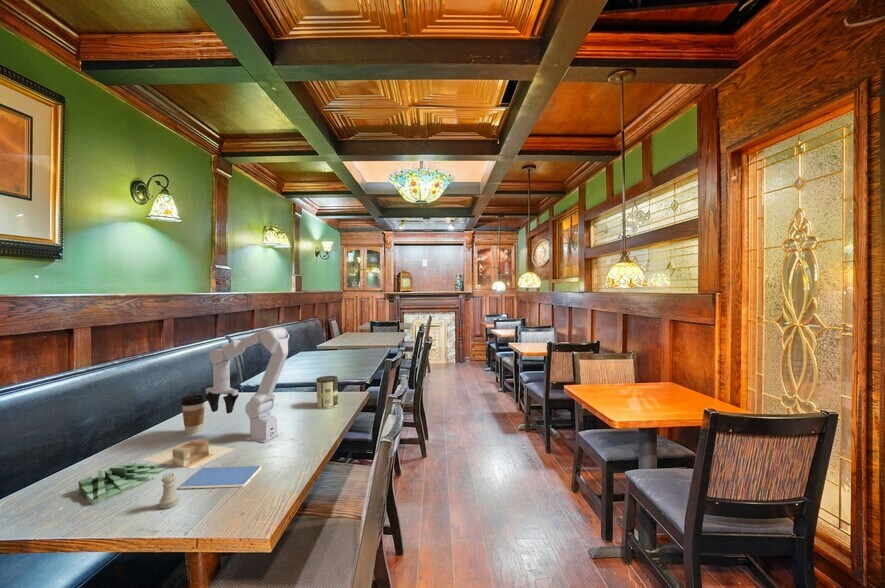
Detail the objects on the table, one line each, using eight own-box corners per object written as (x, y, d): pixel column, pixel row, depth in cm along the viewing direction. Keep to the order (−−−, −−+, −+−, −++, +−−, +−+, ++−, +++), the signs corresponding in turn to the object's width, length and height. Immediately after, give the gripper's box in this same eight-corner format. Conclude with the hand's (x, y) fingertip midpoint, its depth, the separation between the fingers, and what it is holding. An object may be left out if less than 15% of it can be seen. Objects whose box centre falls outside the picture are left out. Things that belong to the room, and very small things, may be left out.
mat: (235, 450, 136) (235, 448, 136) (194, 470, 121) (194, 468, 121) (185, 443, 144) (185, 441, 144) (141, 461, 128) (141, 459, 128)
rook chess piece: (165, 500, 103) (165, 471, 103) (182, 499, 104) (182, 470, 104) (154, 510, 99) (154, 479, 99) (172, 509, 99) (172, 478, 99)
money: (116, 472, 121) (116, 457, 121) (167, 471, 122) (167, 456, 122) (54, 508, 101) (54, 490, 101) (116, 506, 102) (115, 488, 102)
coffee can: (331, 401, 196) (330, 374, 196) (342, 405, 189) (341, 377, 189) (312, 406, 188) (312, 378, 188) (323, 410, 181) (322, 381, 181)
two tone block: (197, 453, 133) (197, 439, 133) (208, 455, 131) (208, 440, 131) (172, 464, 124) (172, 449, 124) (183, 466, 122) (183, 451, 122)
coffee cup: (176, 435, 152) (176, 398, 152) (197, 428, 160) (196, 392, 160) (190, 438, 149) (190, 400, 149) (210, 430, 157) (210, 394, 157)
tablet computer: (262, 468, 123) (262, 464, 123) (244, 488, 110) (244, 484, 110) (201, 471, 122) (201, 467, 122) (176, 491, 109) (176, 487, 109)
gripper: (198, 379, 149) (199, 413, 149) (227, 381, 145) (227, 416, 145) (214, 375, 156) (214, 408, 156) (242, 377, 152) (242, 411, 152)
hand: (222, 412), depth 151 cm, fingers open, 7 cm apart
